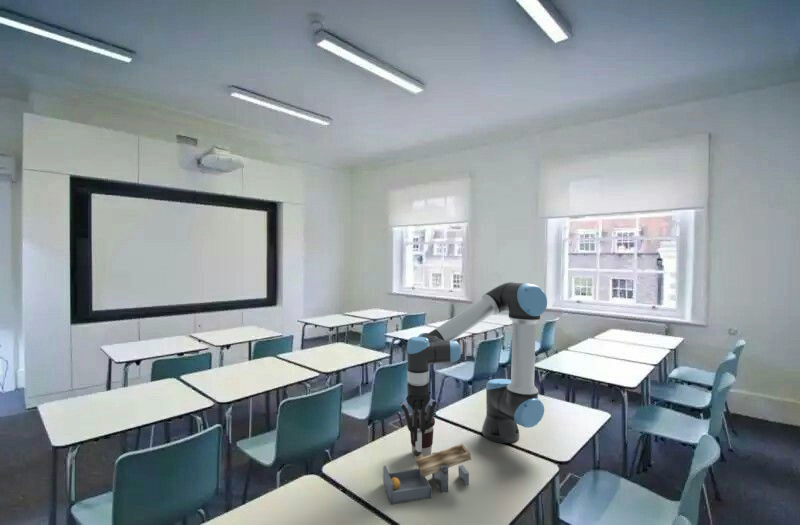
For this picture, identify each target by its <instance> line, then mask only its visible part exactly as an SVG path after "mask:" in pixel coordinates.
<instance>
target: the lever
mask: <svg viewBox="0 0 800 525" xmlns="http://www.w3.org/2000/svg"><path fill="white" fill-rule="evenodd" d="M436 452H437V453H435V452H433V453H434V454H432V453H431V455H428V456H425V457H423V455H422V454H421V451H420V452H418V451H417V450H415V451H414V452H413V454H414V456H413V457H414V458H415V461H416V466H417V469H418V468H419V470H420V472H421V474H422V476H423V477H425V478H426V477H427V476H429V475H430V476H431V475H432V474H433V473H436V472H438V471H440V465H448V469H449V468H452V467H454V466H457V465H460V464H462V463H465V462H469V461H470V460H472V457H471V453H470V451H469V450H468V448H466V446H465V445H464V444H463V443H460V444H457V445H454V446H451V447H448V448H446V449H442V450H440V451H436ZM413 454H412V455H413Z"/></svg>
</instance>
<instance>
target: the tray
mask: <svg viewBox="0 0 800 525" xmlns="http://www.w3.org/2000/svg"><path fill="white" fill-rule="evenodd" d="M382 469H383V470H382V472H383V476H382V477H383V479H382V480H383V483H382V484H383V487H384V490H385V493H386V496H387V498H388V501H389V504H390V505H396V504H400V503H401V504H403V503H409V502H414V501H421V500H426V499H432V485H431V484H429V482H428V480H427V478H426V476H425V477H423V476H422V474H421V472H420V470H419V468H418V467H417V468H413V469H412V468H411V469H405V470H398V471H397V470H396V471H390V472H389V471H388V468H387V465H383V467H382ZM393 477H396V478H398V479H399V481H400V486H399V488H398V489H397V490H393V483H392V480H391V478H393Z"/></svg>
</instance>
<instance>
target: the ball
mask: <svg viewBox="0 0 800 525" xmlns="http://www.w3.org/2000/svg"><path fill="white" fill-rule="evenodd" d="M391 480H392V483H393V490H397V489H398V488H399V486H400V481H399V479H398V478H396V477H393V478H391Z"/></svg>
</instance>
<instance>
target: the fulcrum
mask: <svg viewBox="0 0 800 525" xmlns="http://www.w3.org/2000/svg"><path fill="white" fill-rule="evenodd" d="M437 452H438V451H436V452H431V454H434V453H437ZM431 475H432V476H431V478H432V479H433V481H434V482H435V483H436V485H437V488H438V489H439V491H440V493H441V494H444V493H449V468H448V465H440V471H438V472H436V473H433V474H431Z"/></svg>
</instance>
